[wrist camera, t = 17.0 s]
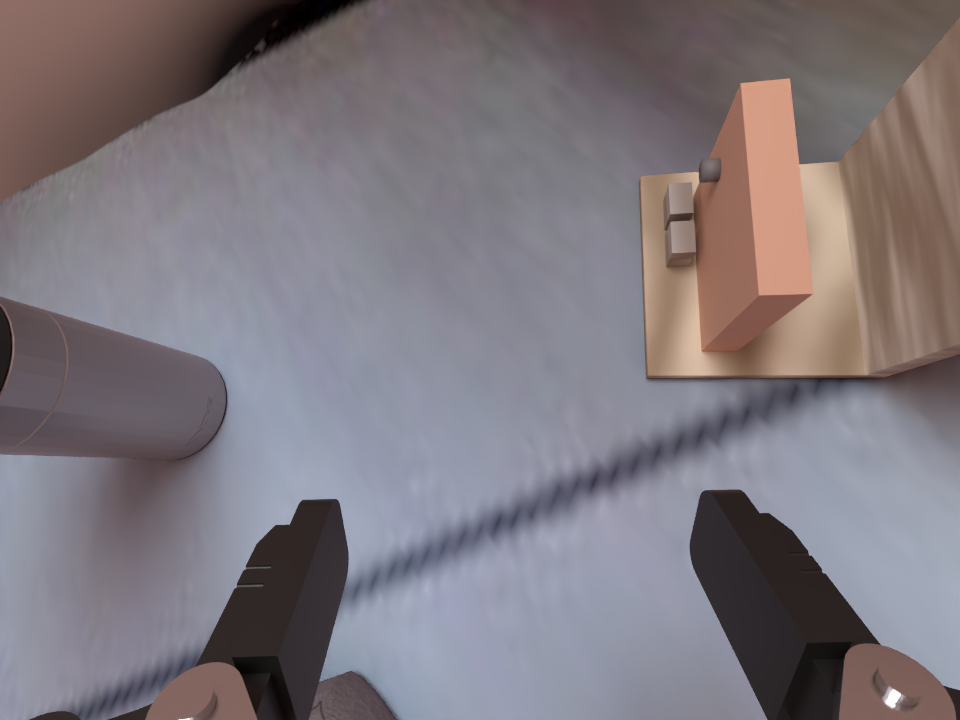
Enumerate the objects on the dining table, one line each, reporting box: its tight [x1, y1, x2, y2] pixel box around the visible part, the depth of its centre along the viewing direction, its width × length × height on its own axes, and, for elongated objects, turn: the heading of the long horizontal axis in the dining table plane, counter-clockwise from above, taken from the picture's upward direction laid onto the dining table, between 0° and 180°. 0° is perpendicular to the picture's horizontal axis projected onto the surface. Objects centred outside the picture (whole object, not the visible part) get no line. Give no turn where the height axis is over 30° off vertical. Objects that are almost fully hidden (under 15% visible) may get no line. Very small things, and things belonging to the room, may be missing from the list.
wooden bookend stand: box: [639, 18, 960, 378], centre depth 28 cm, size 16×16×20 cm
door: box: [693, 78, 813, 351], centre depth 32 cm, size 3×12×12 cm, turn 178°
